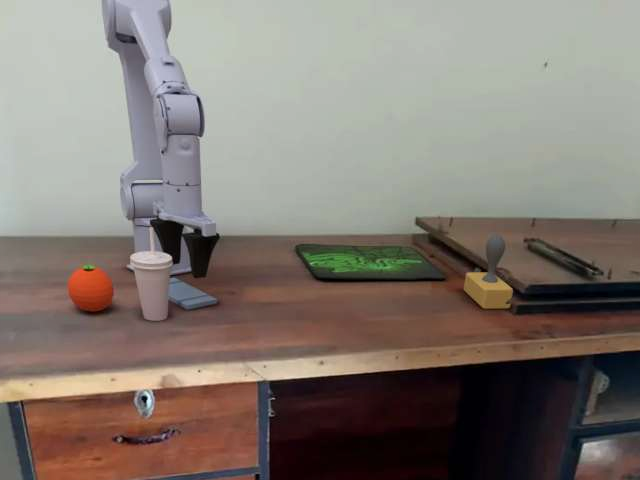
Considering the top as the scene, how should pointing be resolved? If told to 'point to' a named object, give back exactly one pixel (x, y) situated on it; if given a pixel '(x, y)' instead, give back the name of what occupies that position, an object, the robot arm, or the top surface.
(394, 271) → the mouse mat
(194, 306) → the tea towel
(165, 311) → the smoothie
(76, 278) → the clementine
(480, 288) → the rubber stamp
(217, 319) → the top surface
